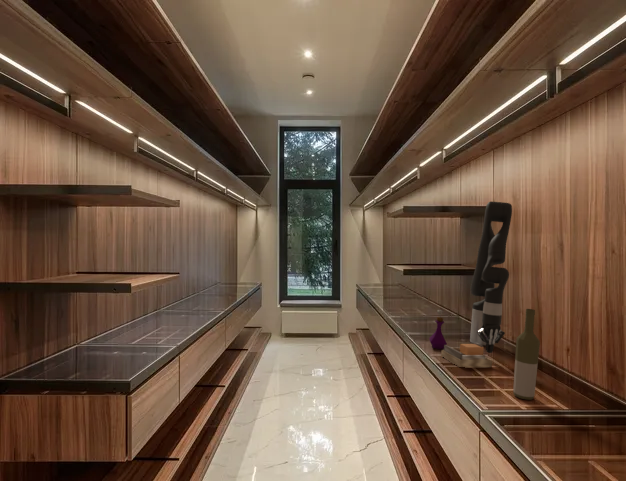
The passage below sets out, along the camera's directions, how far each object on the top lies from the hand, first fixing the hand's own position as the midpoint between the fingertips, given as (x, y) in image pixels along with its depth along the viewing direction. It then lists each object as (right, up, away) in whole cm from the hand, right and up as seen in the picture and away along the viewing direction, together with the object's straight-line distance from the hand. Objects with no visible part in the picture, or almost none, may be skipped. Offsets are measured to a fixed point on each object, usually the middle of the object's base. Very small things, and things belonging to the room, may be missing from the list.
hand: (489, 352), depth 173 cm
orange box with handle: (-9, -1, -2) cm, 9 cm away
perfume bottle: (-17, -3, +17) cm, 24 cm away
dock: (-11, -3, -3) cm, 12 cm away
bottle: (-5, -5, -38) cm, 39 cm away
